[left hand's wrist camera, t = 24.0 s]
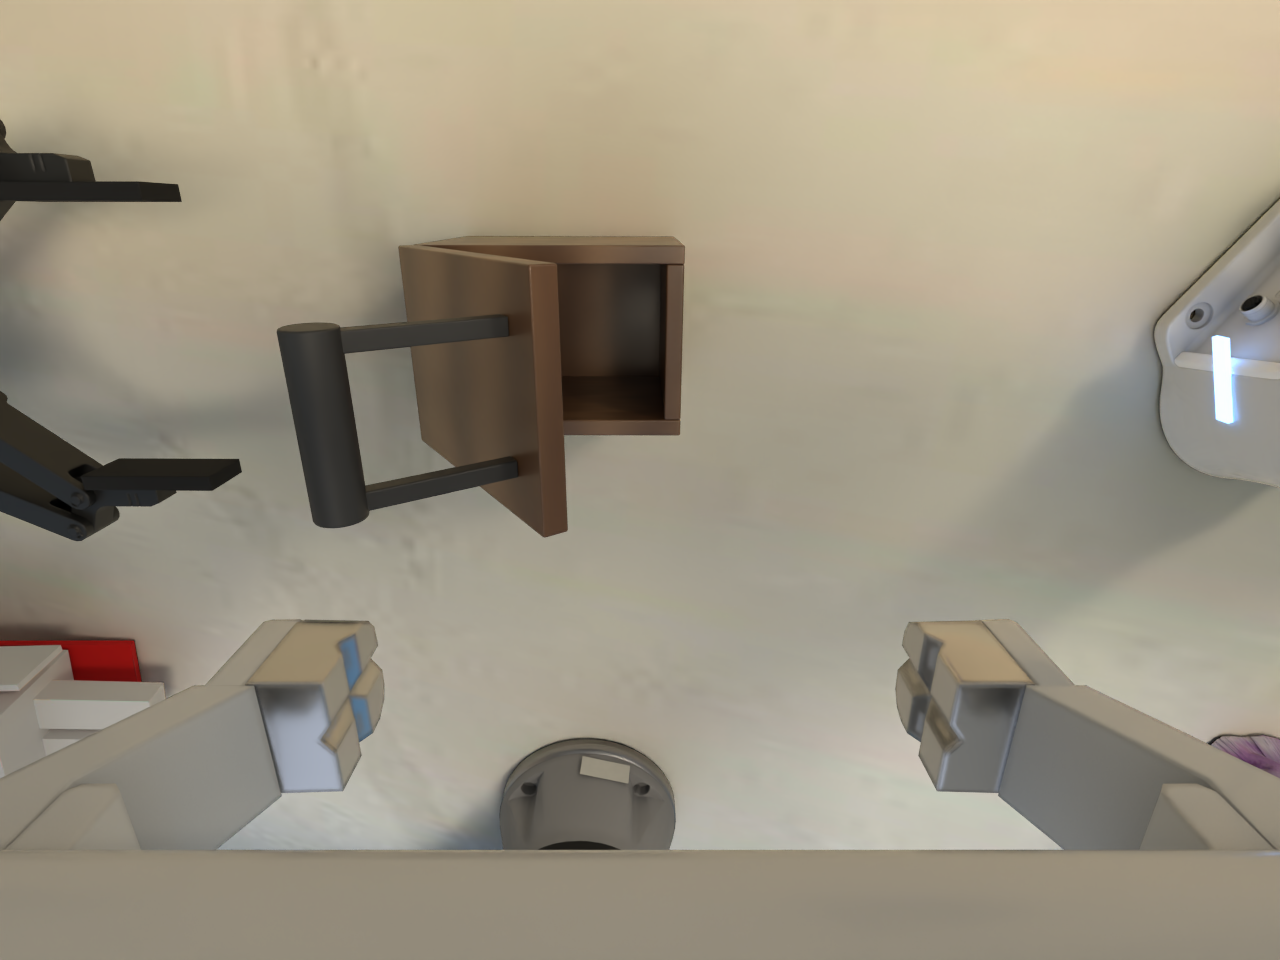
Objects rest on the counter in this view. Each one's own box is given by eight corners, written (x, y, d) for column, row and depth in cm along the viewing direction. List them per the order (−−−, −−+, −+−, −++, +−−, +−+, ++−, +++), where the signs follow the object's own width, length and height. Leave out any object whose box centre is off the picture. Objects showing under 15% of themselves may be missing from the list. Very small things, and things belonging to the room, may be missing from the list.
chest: (674, 236, 43) (684, 245, 33) (671, 385, 47) (680, 435, 37) (466, 236, 43) (412, 244, 33) (479, 385, 47) (434, 435, 36)
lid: (557, 263, 22) (277, 275, 18) (568, 531, 26) (337, 596, 21) (419, 245, 33) (222, 250, 28) (440, 436, 36) (269, 467, 32)
